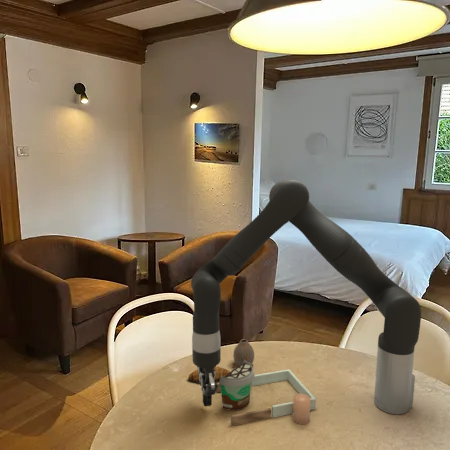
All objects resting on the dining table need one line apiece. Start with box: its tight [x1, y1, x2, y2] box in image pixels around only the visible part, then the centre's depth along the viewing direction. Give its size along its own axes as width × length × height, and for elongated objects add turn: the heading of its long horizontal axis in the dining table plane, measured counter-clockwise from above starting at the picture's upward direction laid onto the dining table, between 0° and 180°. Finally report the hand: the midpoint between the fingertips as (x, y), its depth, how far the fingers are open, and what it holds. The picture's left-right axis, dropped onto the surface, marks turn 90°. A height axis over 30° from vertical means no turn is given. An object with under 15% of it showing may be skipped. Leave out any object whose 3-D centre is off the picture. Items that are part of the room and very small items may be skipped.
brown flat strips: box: [215, 382, 272, 427], centre depth 117 cm, size 11×17×2 cm, turn 17°
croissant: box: [187, 365, 231, 383], centre depth 130 cm, size 14×7×5 cm, turn 99°
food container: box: [218, 360, 255, 411], centre depth 117 cm, size 12×6×10 cm, turn 143°
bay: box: [251, 369, 317, 418], centre depth 121 cm, size 13×17×3 cm
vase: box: [232, 338, 255, 367], centre depth 138 cm, size 7×7×9 cm
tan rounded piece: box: [292, 392, 311, 425], centre depth 110 cm, size 4×4×6 cm
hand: (207, 404), depth 114 cm, fingers closed
